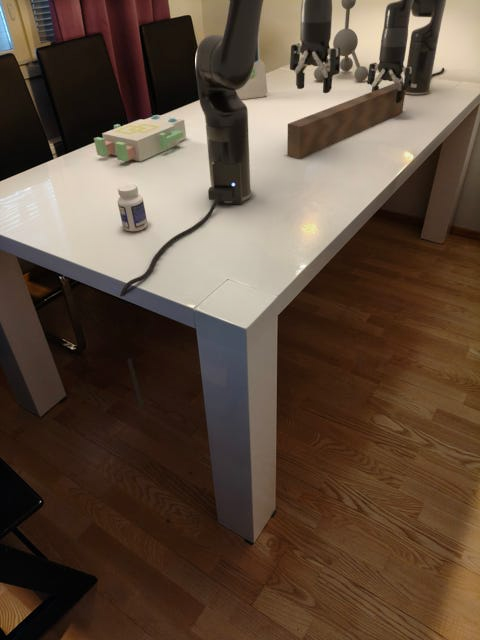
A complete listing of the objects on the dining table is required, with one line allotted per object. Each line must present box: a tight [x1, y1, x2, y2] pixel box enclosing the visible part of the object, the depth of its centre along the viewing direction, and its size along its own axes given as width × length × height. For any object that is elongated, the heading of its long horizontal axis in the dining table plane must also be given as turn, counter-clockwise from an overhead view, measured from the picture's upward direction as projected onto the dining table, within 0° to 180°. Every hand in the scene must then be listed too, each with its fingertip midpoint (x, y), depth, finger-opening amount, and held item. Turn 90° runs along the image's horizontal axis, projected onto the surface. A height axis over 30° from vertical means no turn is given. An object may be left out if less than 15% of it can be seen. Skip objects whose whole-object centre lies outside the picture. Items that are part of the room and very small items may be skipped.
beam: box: [286, 83, 406, 160], centre depth 146 cm, size 54×4×9 cm, turn 136°
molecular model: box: [313, 0, 369, 82], centre depth 196 cm, size 24×22×30 cm
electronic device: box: [236, 31, 268, 100], centre depth 180 cm, size 12×8×30 cm, turn 105°
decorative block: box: [93, 114, 187, 162], centre depth 144 cm, size 26×6×20 cm
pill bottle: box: [117, 182, 148, 232], centre depth 102 cm, size 5×5×9 cm
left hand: (313, 90), depth 129 cm, fingers open, 8 cm apart
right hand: (386, 100), depth 156 cm, fingers open, 8 cm apart
